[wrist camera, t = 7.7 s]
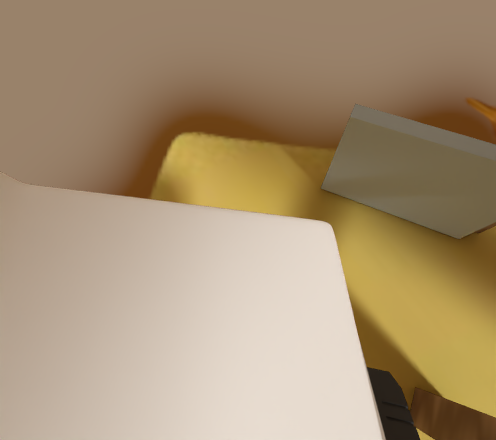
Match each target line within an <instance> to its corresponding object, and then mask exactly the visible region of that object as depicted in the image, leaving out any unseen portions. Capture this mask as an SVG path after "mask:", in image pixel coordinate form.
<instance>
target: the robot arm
mask: <svg viewBox="0 0 496 440" xmlns="http://www.w3.org/2000/svg"><path fill="white" fill-rule="evenodd" d="M359 341H360V340H359ZM360 346H361V344H360ZM361 350H362V348H361ZM362 354H363V352H362ZM363 358H364V355H363ZM364 363H365V359H364ZM365 367H366V363H365ZM366 371H367V376H368V380H369V384H370V388H371V393H372V397H373V401H374V406H375V410H376V414H377V418H378V423H379V427H380V431H381V435H382V440H420V438H419V435H418V432H417V430H416V427H415V426H414V421H413V419H412V416H411V413H410V411H409V410H408V405H407V402H406V400H405V397H404V394H403V392H402V389H401V387H400V386H399V385H398V383H397V382H396V381H395V379H394V378H393V377H392V375H391V374H390V372H387V371H382V370H377V369H372V368H368V367H366Z"/></svg>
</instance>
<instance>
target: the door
mask: <svg viewBox="0 0 496 440" xmlns="http://www.w3.org/2000/svg"><path fill="white" fill-rule="evenodd" d="M321 189H324V190H327V191H329V192H332V193H335V194H337V195H340V196H343V197H346V198H348V199H351V200H354V201H356V202H359V203H362V204H365V205H367V206H370V207H373V208H376V209H378V210H381V211H384V212H386V213H389V214H392V215H395V216H397V217H400V218H403V219H405V220H408V221H411V222H414V223H416V224H419V225H422V226H425V227H427V228H430V229H433V230H435V231H438V232H441V233H444V234H446V235H449V236H452V237H455V238H457V239H460V238H462V237H465V236H467V235H469V234H471V233H473V232H475V231H478V230H480V229H482V228H484V227H486V226H488V225H491V224H493V223H495V222H496V145H495V144H491V143H488V142H485V141H481V140H478V139H474V138H471V137H467V136H464V135H460V134H457V133H453V132H450V131H447V130H443V129H439V128H437V127H433V126H429V125H426V124H423V123H419V122H416V121H413V120H409V119H405V118H402V117H399V116H395V115H392V114H389V113H385V112H381V111H378V110H375V109H371V108H368V107H364V106H361V105H358V104H355V106H354V109H353V111H352V113H351V116H350V118H349V121H348V123H347V126H346V128H345V130H344V133H343V135H342V138H341V140H340V143H339V145H338V147H337V150H336V152H335V155H334V157H333V160H332V162H331V165H330V167H329V169H328V172H327V174H326V177H325V179H324V182H323V184H322V187H321Z"/></svg>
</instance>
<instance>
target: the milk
mask: <svg viewBox="0 0 496 440" xmlns="http://www.w3.org/2000/svg"><path fill="white" fill-rule="evenodd" d="M0 440H382V435H381V431H380V427H379V423H378V418H377V414H376V410H375V406H374V401H373V397H372V393H371V388H370V384H369V380H368V376H367V371H366V367H365V363H364V358H363V354H362V350H361V346H360V341H359V337H358V333H357V329H356V324H355V320H354V316H353V311H352V307H351V303H350V299H349V294H348V290H347V286H346V281H345V277H344V273H343V269H342V264H341V260H340V256H339V252H338V247H337V243H336V239H335V235H334V231H333V229H332V226H331V225H330V224H329V223H327V222H324V221H319V220H313V219H305V218H297V217H289V216H281V215H273V214H265V213H257V212H249V211H241V210H233V209H225V208H217V207H209V206H201V205H192V204H184V203H176V202H168V201H160V200H152V199H143V198H136V197H128V196H120V195H112V194H104V193H95V192H88V191H79V190H71V189H63V188H55V187H46V186H38V185H32V184H26V183H23V182H20V181H18V180H16V179H14V178H11V177H10V176H8V175H6V174H4V173H3V172H1V171H0Z"/></svg>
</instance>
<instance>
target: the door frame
mask: <svg viewBox="0 0 496 440" xmlns="http://www.w3.org/2000/svg"><path fill="white" fill-rule="evenodd" d="M494 226H496V222H495V223H493V224H491V225H488V226H486V227H484V228H482V229H480V230H478V231H475V232H476V233H481V232H483V231H485V230H487V229H490V228H492V227H494ZM410 413H411V416H412V419H413V421H414V426H415V427H416V428H418V429H419V430H421V431H422V432H424V433H425V434H427V435H429V436H430V437H432V438H433V439H435V440H496V418H495V417H492V416H490V415H487V414H485V413H482V412H479V411H477V410H474V409H471V408H469V407H466V406H463V405H461V404H458V403H456V402H453V401H450V400H448V399H445V398H442V397H440V396H437V395H435V394H432V393H429V392H427V391H424V390H421V389H419V388H416V387H415V392H414V397H413V401H412V406H411V411H410Z"/></svg>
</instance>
